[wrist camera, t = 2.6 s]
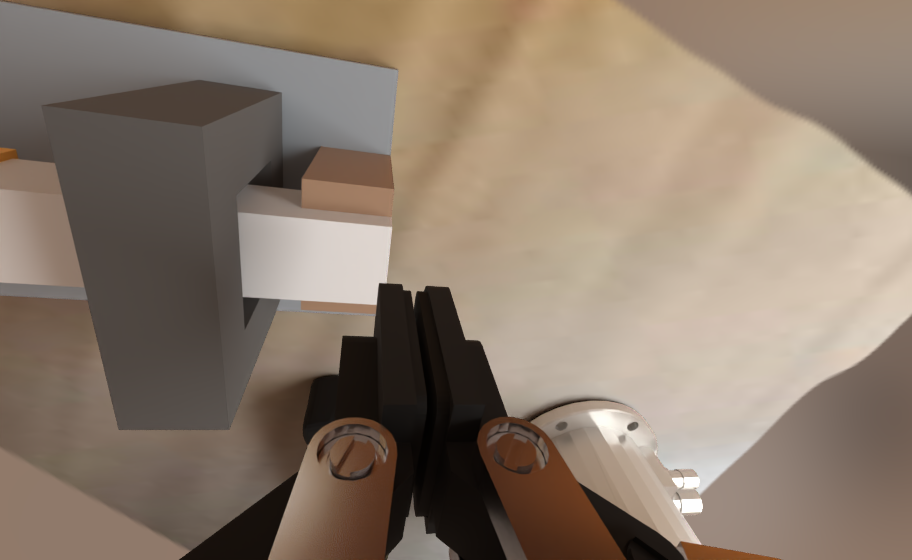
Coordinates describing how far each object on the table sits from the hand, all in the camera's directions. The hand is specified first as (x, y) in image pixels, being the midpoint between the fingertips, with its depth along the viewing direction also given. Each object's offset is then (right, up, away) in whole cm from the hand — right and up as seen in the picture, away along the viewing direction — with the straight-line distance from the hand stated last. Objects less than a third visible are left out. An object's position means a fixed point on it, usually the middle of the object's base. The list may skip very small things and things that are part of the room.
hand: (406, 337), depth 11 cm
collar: (-8, +5, +8) cm, 13 cm away
